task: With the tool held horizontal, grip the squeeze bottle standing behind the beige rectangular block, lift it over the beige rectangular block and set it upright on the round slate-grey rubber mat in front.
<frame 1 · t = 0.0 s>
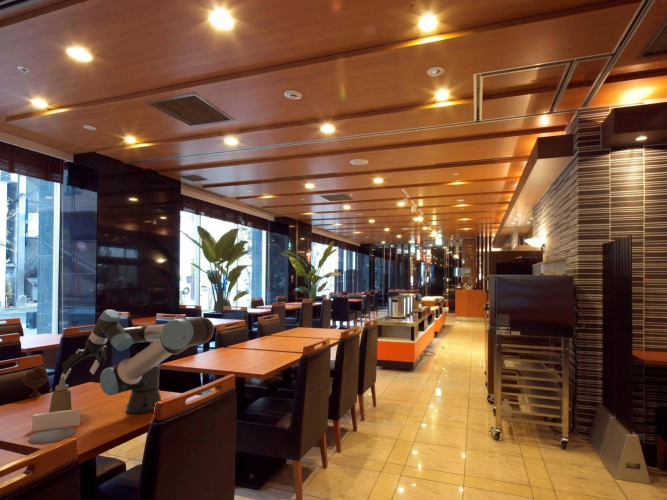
hand: (77, 375, 187), 15 cm above the table, tool tilted 35°, fingers open, 13 cm apart
beige rectangular block: (56, 427, 162), on the table
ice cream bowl: (34, 396, 207), on the table
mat: (52, 436, 152), on the table
squeeze bottle: (59, 420, 170), on the table
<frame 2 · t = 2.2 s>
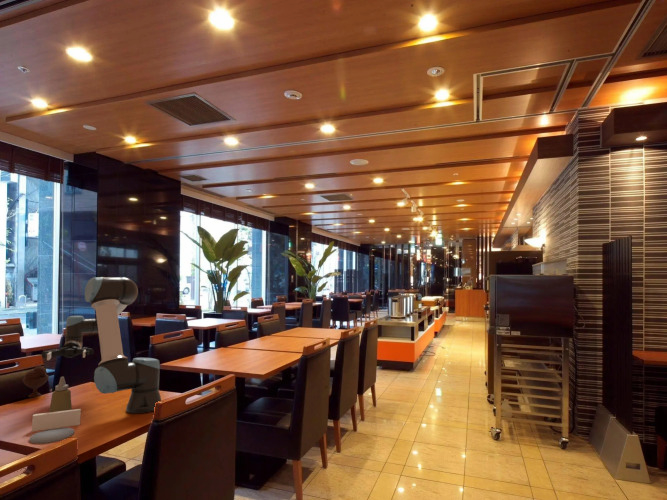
hand: (66, 355, 181), 25 cm above the table, tool horizontal, fingers open, 13 cm apart
nothing on the table moved.
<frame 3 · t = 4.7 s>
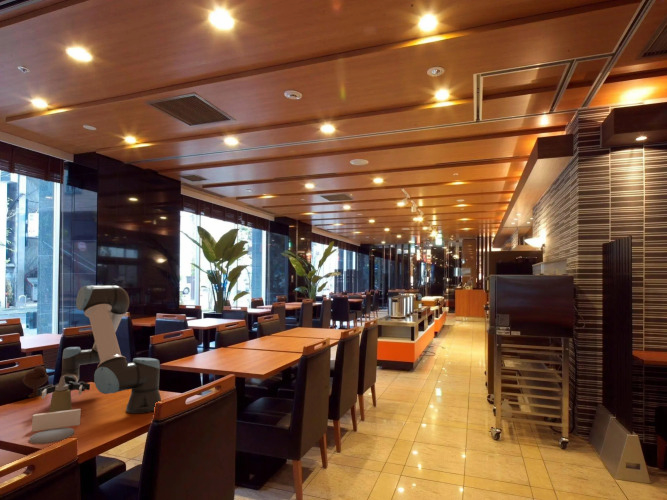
hand: (61, 393, 176), 10 cm above the table, tool horizontal, fingers open, 13 cm apart
nothing on the table moved.
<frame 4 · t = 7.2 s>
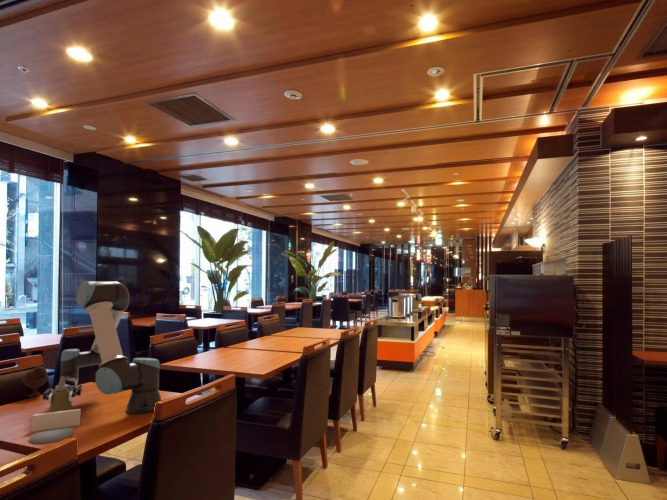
hand: (59, 398, 167), 10 cm above the table, tool horizontal, fingers closed on squeeze bottle, 6 cm apart
squeeze bottle: (59, 420, 170), on the table, touching gripper
everything else where it was.
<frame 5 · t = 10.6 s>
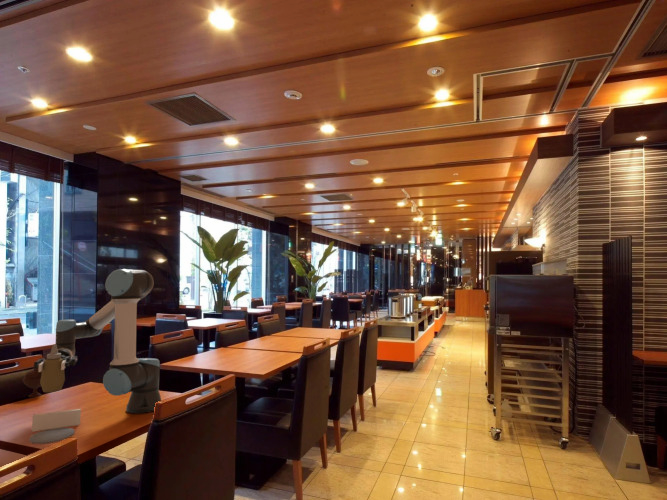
hand: (51, 367, 153), 26 cm above the table, tool horizontal, fingers closed on squeeze bottle, 6 cm apart
squeeze bottle: (52, 391, 157), point 16 cm above the table, touching gripper
everything else where it was.
when the fingers open (13 cm above the table, at t = 14.3 s): squeeze bottle drops 2 cm, resting on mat.
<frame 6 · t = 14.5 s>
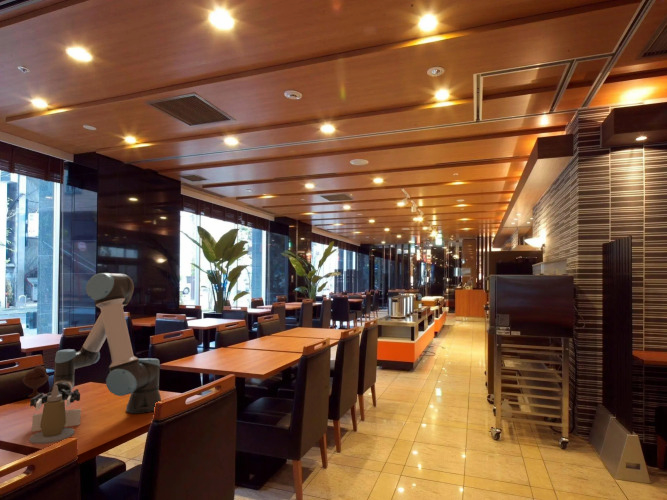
hand: (52, 405, 149), 13 cm above the table, tool horizontal, fingers open, 9 cm apart
squeeze bottle: (52, 434, 152), point 1 cm above the table, touching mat
everything else where it was.
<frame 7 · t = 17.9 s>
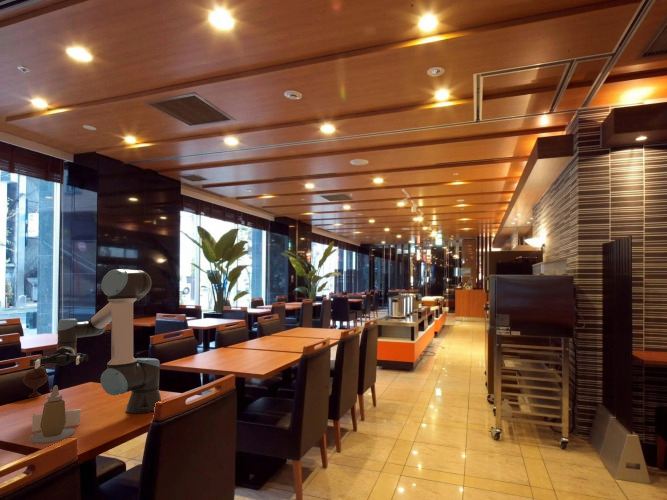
hand: (57, 363, 159), 27 cm above the table, tool horizontal, fingers open, 13 cm apart
nothing on the table moved.
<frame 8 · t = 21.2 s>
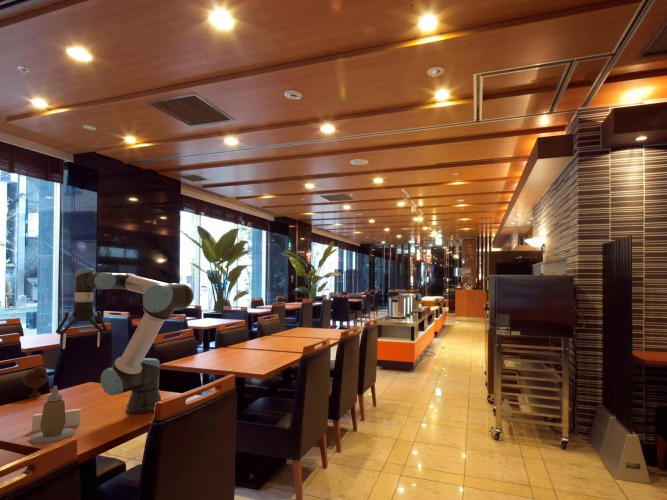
hand: (81, 347, 185), 29 cm above the table, tool pointing down, fingers open, 13 cm apart
nothing on the table moved.
at the end: squeeze bottle inside the target area on the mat (0.1 cm from its centre), point 0.6 cm above the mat's base; squeeze bottle tilted 0°; the gripper is holding nothing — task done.
